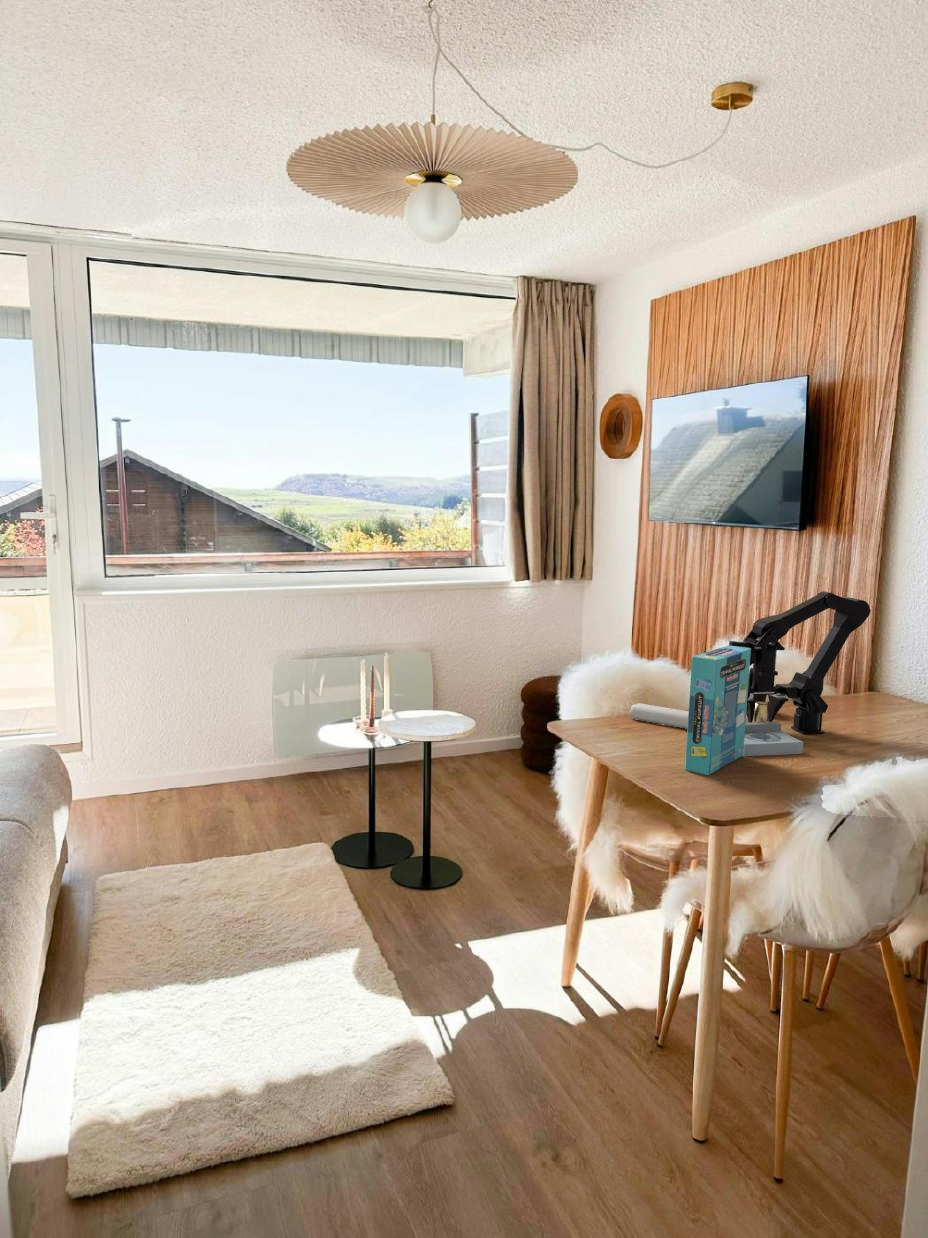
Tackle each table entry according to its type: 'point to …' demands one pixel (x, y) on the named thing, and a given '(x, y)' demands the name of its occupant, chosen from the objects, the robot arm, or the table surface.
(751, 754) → the jig
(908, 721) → the table surface
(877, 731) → the table surface
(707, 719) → the game box
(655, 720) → the tube
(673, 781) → the table surface
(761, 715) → the brass cylinder
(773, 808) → the table surface
